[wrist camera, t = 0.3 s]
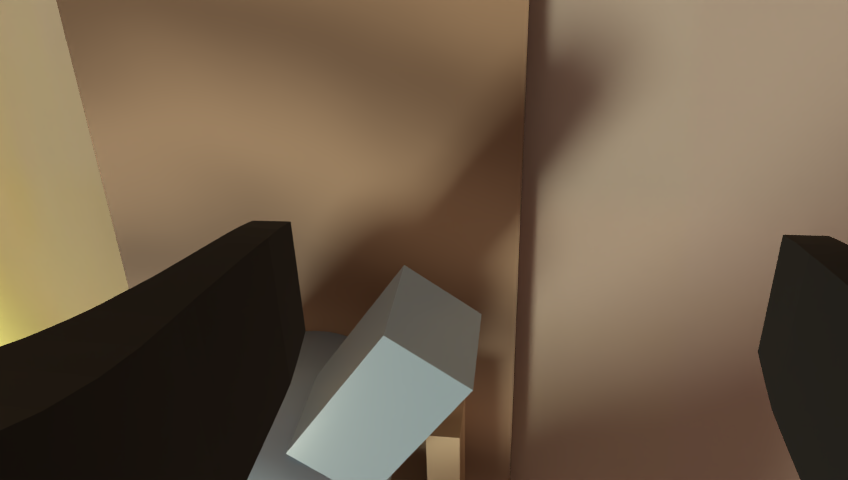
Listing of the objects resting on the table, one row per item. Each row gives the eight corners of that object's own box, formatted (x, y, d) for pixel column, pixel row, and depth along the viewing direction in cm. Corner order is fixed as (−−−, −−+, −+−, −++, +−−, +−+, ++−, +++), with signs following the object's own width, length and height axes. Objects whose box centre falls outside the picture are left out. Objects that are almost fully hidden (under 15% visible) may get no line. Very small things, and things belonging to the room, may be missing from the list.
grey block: (526, 291, 22) (523, 420, 17) (354, 477, 27) (315, 619, 22) (375, 193, 21) (329, 302, 17) (223, 403, 26) (154, 534, 21)
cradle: (508, 500, 27) (505, 567, 25) (188, 474, 29) (156, 535, 26) (529, -24, 19) (528, 1, 16) (68, -23, 20) (4, 0, 18)
